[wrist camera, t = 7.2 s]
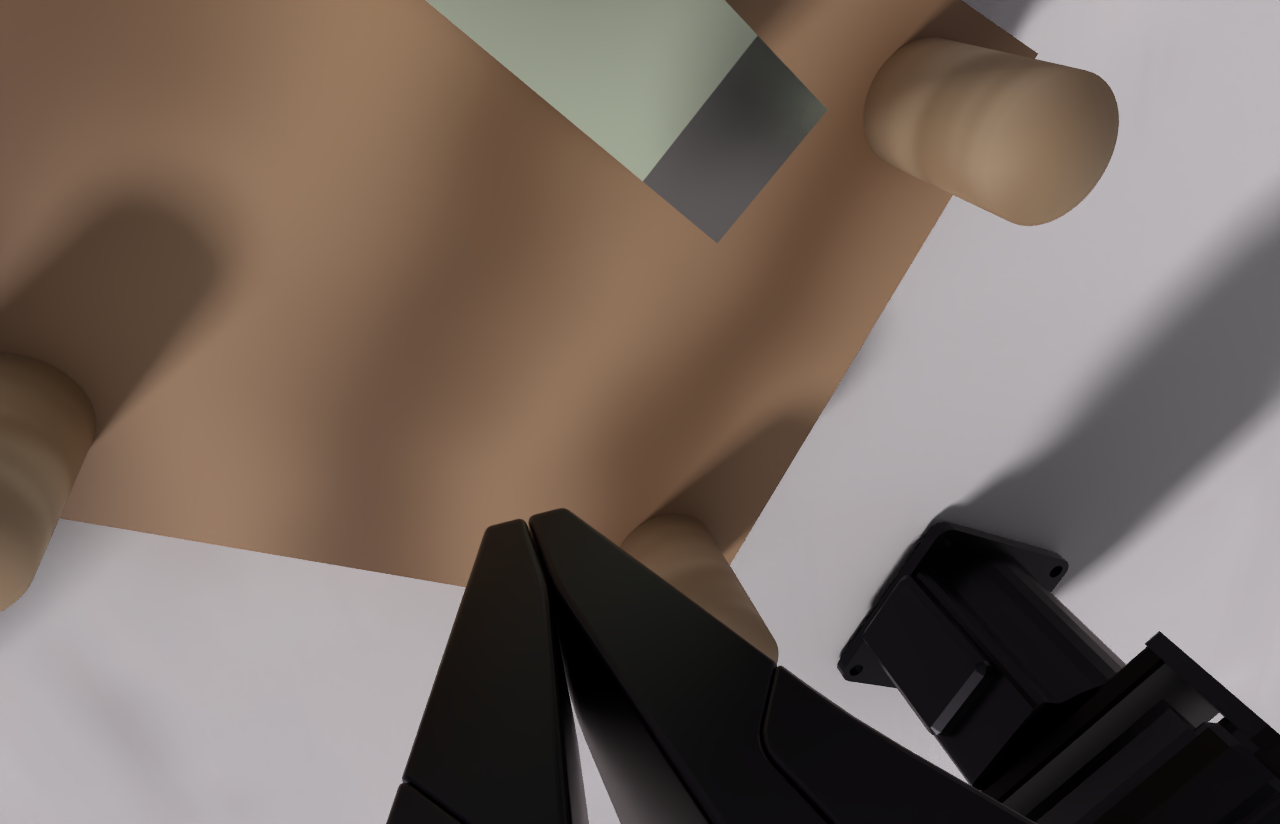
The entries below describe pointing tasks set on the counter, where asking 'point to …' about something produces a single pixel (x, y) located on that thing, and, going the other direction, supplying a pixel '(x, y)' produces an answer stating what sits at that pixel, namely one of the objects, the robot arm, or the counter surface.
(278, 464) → the stool seat
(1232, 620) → the counter surface
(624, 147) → the hinged leg
